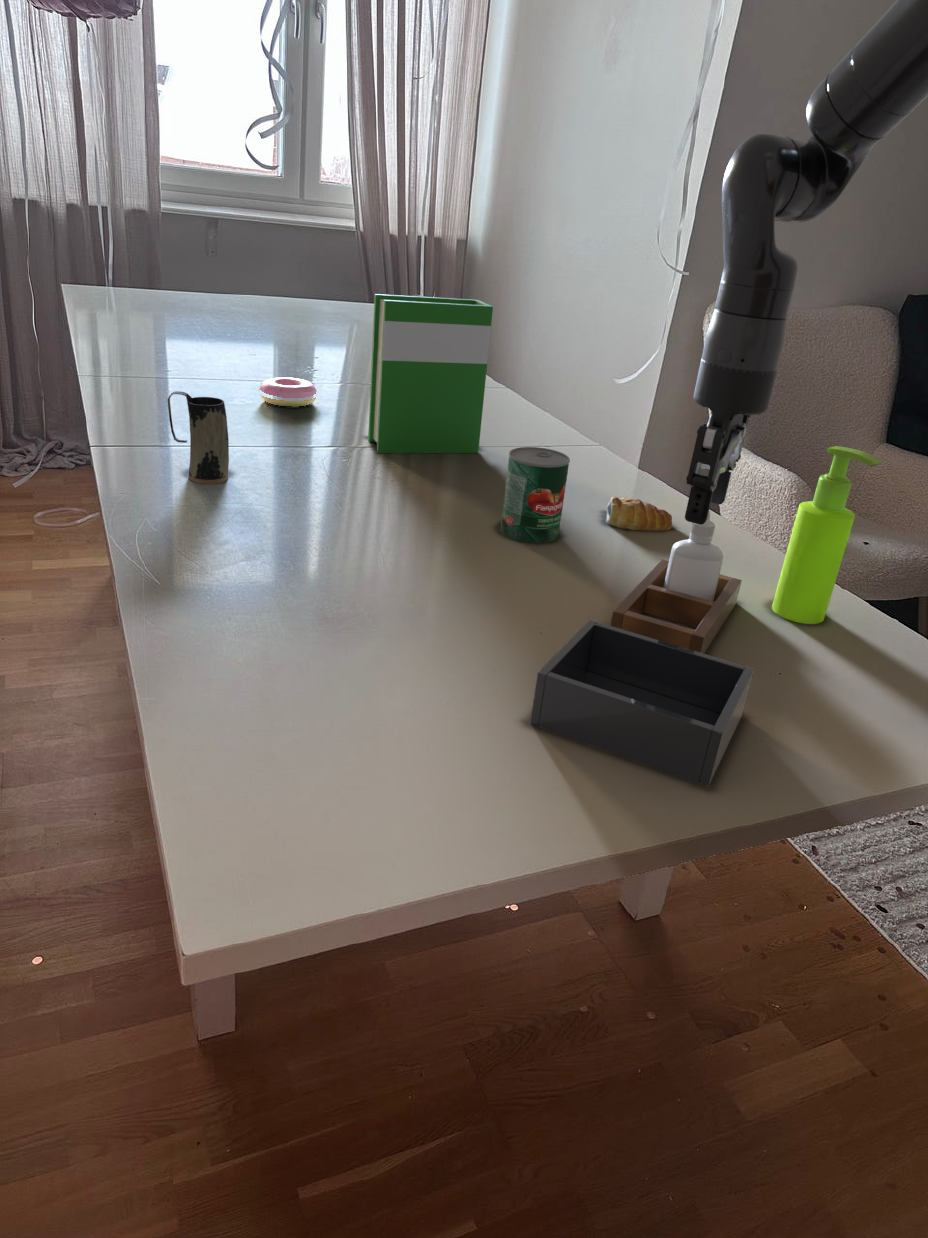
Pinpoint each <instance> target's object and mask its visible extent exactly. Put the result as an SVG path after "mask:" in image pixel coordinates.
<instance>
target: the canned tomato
mask: <svg viewBox="0 0 928 1238" xmlns="http://www.w3.org/2000/svg"><path fill="white" fill-rule="evenodd" d="M570 462H571V459H570V457H569V455H567V454H565V453H563V452H561V451H558V450H555V449H551V448H545V447H538V446H537V447H536V446H521V447H516V448H512V449H510V450H509V452H508V463H507V470H506V479H505V487H504V495H503V502H502V503H503V505H502V511H501V520H500V523H501V524H500V532H501V533H502V534H503V535H505V536H506V537H508V538H509V539H513V540H516V541H519V542H525V543H532V544H533V543H535V544H541V543H542V544H543V543H549V542H554V541H555V540H557V539H558V538H559V533H560V528H561V522H562V521H561V520H562V513H563V506H564V499H565V494H566V486H567V482H568V481H567V480H568V474H569V466H570Z"/></svg>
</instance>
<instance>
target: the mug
mask: <svg viewBox="0 0 928 1238" xmlns="http://www.w3.org/2000/svg"><path fill="white" fill-rule="evenodd" d="M173 395H180V396H184V397H185V398H186V405H187V410H188V411H187V412H188V418H189V419H188V420H189V421H188V422H189V436H190V437H189V440H190V441H189V442H190V447H189V467H188V479H189V481H191V482H194V483H198V484H206V485H211V484H221V483H224V482H226V481H228V480H229V466H230V465H229V464H230V449H229V448H230V443H229V430H228V429H229V428H228V427H229V426H228V417H227V411H226V404H225V400H223V399H222V398H218V397H211V396H194V397H192V396H191V395H190V394H189V393H187V392H185V391H181V390H180V391H179V390H178V391H175V390H174V391H173V392H171V393H170V395H169V396H168V398H167V409H168V419H169V425H170V432H171V434H172V437H173V438H172V439H173V440H174V441H175V442H177V443H183V444H184V443H185V444H187V442H188V440H186V439H179V438H177V436H176V433H175V429H174V424H173V417H172V407H171V397H172V396H173Z"/></svg>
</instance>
